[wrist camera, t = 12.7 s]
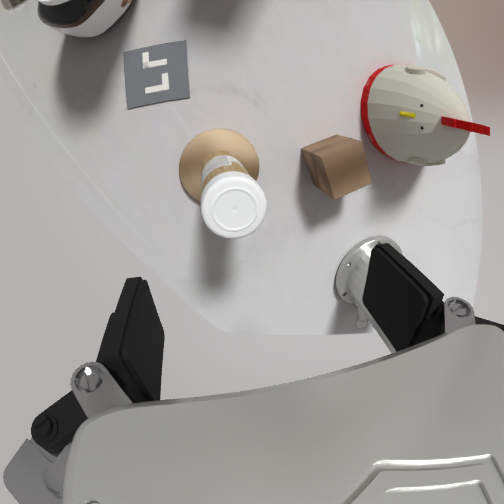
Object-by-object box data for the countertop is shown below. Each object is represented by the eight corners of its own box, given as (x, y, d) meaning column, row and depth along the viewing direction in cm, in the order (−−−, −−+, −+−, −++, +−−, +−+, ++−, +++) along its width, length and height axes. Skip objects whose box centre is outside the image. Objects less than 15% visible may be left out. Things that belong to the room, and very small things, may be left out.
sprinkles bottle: (246, 179, 31) (277, 225, 19) (210, 194, 31) (217, 251, 20) (231, 143, 29) (254, 166, 17) (193, 159, 29) (189, 194, 17)
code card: (189, 97, 26) (189, 97, 26) (127, 108, 25) (127, 108, 25) (185, 40, 22) (185, 40, 22) (123, 52, 21) (123, 52, 21)
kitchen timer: (356, 58, 26) (443, 47, 13) (431, 74, 27) (511, 82, 14) (361, 160, 33) (442, 198, 20) (431, 159, 34) (505, 192, 21)
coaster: (259, 199, 33) (260, 201, 33) (185, 209, 32) (185, 210, 31) (255, 125, 29) (256, 125, 28) (175, 134, 28) (174, 134, 27)
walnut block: (347, 170, 33) (371, 183, 28) (313, 184, 33) (334, 199, 28) (336, 134, 31) (361, 141, 25) (301, 148, 31) (321, 157, 26)
